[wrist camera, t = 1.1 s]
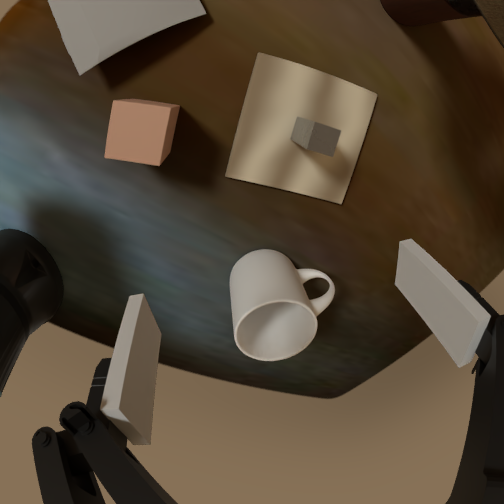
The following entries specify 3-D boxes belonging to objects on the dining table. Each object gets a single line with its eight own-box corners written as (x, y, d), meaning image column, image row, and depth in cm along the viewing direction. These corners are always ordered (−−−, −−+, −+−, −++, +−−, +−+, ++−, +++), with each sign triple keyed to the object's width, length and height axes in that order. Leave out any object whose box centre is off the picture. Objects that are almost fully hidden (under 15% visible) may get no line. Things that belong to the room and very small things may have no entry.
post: (289, 138, 32) (306, 149, 26) (295, 115, 31) (315, 121, 25) (310, 144, 32) (332, 157, 26) (317, 122, 31) (341, 130, 25)
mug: (323, 285, 42) (350, 338, 33) (239, 309, 42) (247, 368, 33) (314, 230, 38) (345, 278, 28) (220, 257, 38) (223, 314, 29)
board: (225, 175, 33) (225, 176, 33) (257, 53, 27) (258, 52, 27) (339, 202, 36) (341, 204, 36) (375, 94, 30) (377, 94, 30)
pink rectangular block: (124, 145, 30) (104, 157, 24) (133, 98, 28) (113, 100, 22) (170, 152, 31) (159, 166, 25) (180, 105, 29) (170, 107, 23)
